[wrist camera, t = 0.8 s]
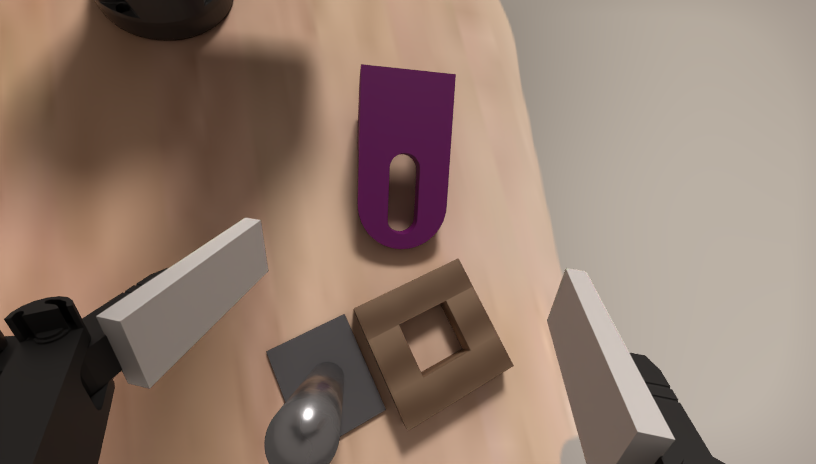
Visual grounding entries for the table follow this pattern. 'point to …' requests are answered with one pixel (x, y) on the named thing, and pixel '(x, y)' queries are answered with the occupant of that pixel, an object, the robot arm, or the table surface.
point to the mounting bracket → (404, 147)
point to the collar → (450, 376)
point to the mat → (338, 348)
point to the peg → (308, 420)
